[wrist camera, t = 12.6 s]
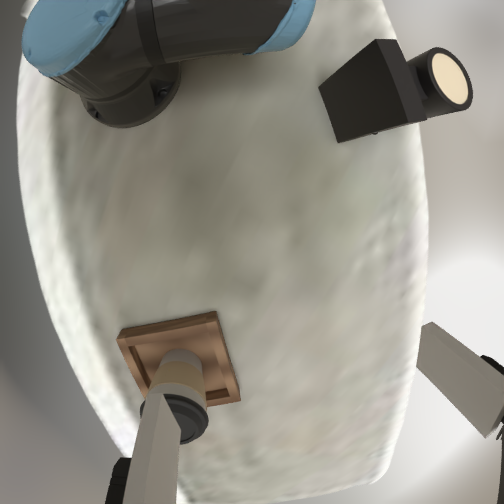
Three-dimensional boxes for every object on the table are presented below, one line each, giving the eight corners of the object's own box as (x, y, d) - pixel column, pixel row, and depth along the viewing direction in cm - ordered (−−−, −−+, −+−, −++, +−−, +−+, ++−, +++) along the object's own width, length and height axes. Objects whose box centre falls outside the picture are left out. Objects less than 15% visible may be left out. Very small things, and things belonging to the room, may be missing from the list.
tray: (122, 329, 42) (115, 339, 39) (216, 310, 43) (216, 321, 40) (155, 401, 46) (153, 413, 43) (239, 388, 47) (240, 400, 44)
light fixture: (405, 130, 40) (482, 115, 23) (338, 144, 40) (409, 125, 22) (387, 77, 38) (455, 43, 20) (317, 85, 37) (374, 36, 20)
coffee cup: (218, 358, 44) (221, 424, 30) (193, 393, 45) (190, 458, 31) (168, 333, 42) (151, 395, 28) (146, 371, 43) (127, 434, 29)
